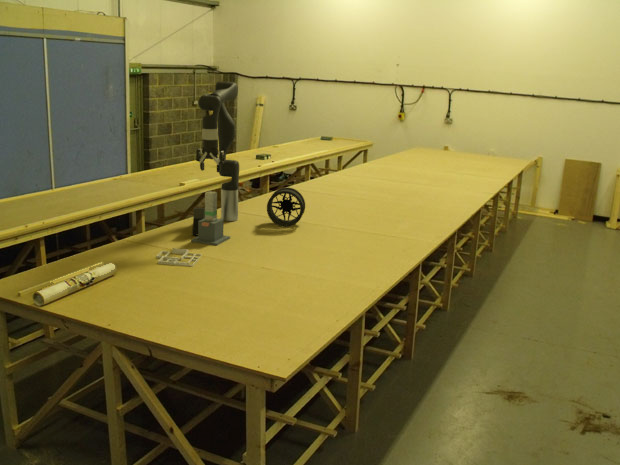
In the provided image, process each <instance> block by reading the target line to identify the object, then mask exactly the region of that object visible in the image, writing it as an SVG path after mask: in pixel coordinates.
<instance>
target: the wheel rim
mask: <svg viewBox="0 0 620 465" xmlns="http://www.w3.org/2000/svg"><path fill="white" fill-rule="evenodd" d="M287 195H288V197H286V196H287ZM278 196H281V197H282V199H281V200H279V199H278ZM293 197H294V198H295V199H296V201H293ZM275 199H276V201H274V200H275ZM273 204H278V206H277V205H273ZM296 205H297V206H299V207H296ZM273 208H275V209H276V210H275V212H274V209H273ZM305 209H306V201H305V198H304V196H303V194H302V193H301V192H299V191H298V190H297V189H295V188H292V187H289V186H287V187H286V186H285V187H281V188H279V189H277V190H275V191H274V192H273V193H272V195H271V196H270V198H269V199H268V201H267V204H266V212H267V213H266V214H267V216H268V218H269V219H270V220H271V221H272V222H273V223H274V224H275V225H277V226H279V227H285V228H286V227H292V226H295V225H296V224H297V223H299V221H301V218H302V217H303V214H304V213H305V211H306V210H305ZM278 210H279V211H281V210H282V211H281V214H279V215H277V214H276V213H277V212H278ZM298 210H299V212H298ZM292 212H295V213H296V214H297V216H295V215H293V214H292ZM286 215H287V220H286ZM280 216H282V217H283V219H282V218H280ZM290 217H292V218H293V219H290Z"/></svg>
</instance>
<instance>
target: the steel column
mask: <svg viewBox="0 0 620 465" xmlns="http://www.w3.org/2000/svg"><path fill="white" fill-rule="evenodd" d="M204 207H205V221H208V222H214V221H217V219H218V192H217V191H211V190H209V191H206V192H205V193H204Z"/></svg>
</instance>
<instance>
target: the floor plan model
mask: <svg viewBox="0 0 620 465" xmlns="http://www.w3.org/2000/svg"><path fill="white" fill-rule="evenodd" d="M189 252H190V250H189V249H187V248H176V247H175V248H173V247H172V249H171V251H169V250H161V251H159V253H157V255H155V258H156V259H158V260H157V264H158V265H167V266H168V265H171V266H178V267H179V266H181V267H183V266H184V267H194V266H195V265H196V264H197V263H198V261H199V259H200V258H201V257H202V256H203V254H201V253H192V252H191V253H189ZM162 254H165V255H162ZM170 254H175V255H181V257H176V256H169V255H170ZM183 259H190V260H188V261H187V262H185V261H183ZM191 262H193V263H191Z"/></svg>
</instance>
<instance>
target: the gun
mask: <svg viewBox="0 0 620 465" xmlns="http://www.w3.org/2000/svg"><path fill="white" fill-rule="evenodd" d="M192 214H193V219H192V220H193V221H192V231H191V235H193V236H194V235H195V236H198V221H200V220H202V219H204V218H205V206H203V207H198V206H197V207H196V206H195V207H193V213H192Z"/></svg>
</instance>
